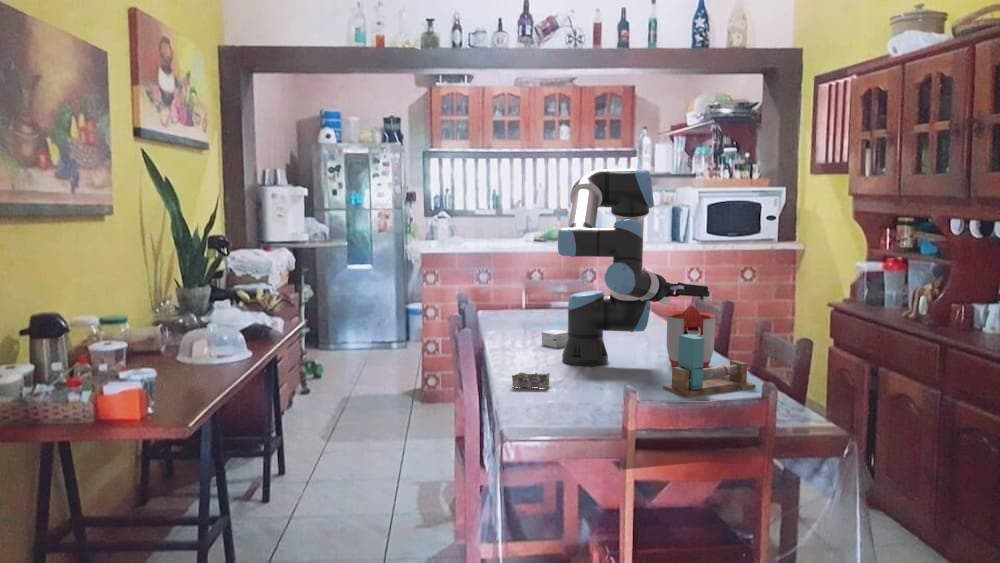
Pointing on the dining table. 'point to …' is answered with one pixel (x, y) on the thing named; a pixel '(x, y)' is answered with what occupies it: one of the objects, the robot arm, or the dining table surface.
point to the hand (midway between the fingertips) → (689, 298)
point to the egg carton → (530, 380)
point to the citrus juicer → (690, 331)
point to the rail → (734, 381)
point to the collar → (692, 358)
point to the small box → (554, 338)
